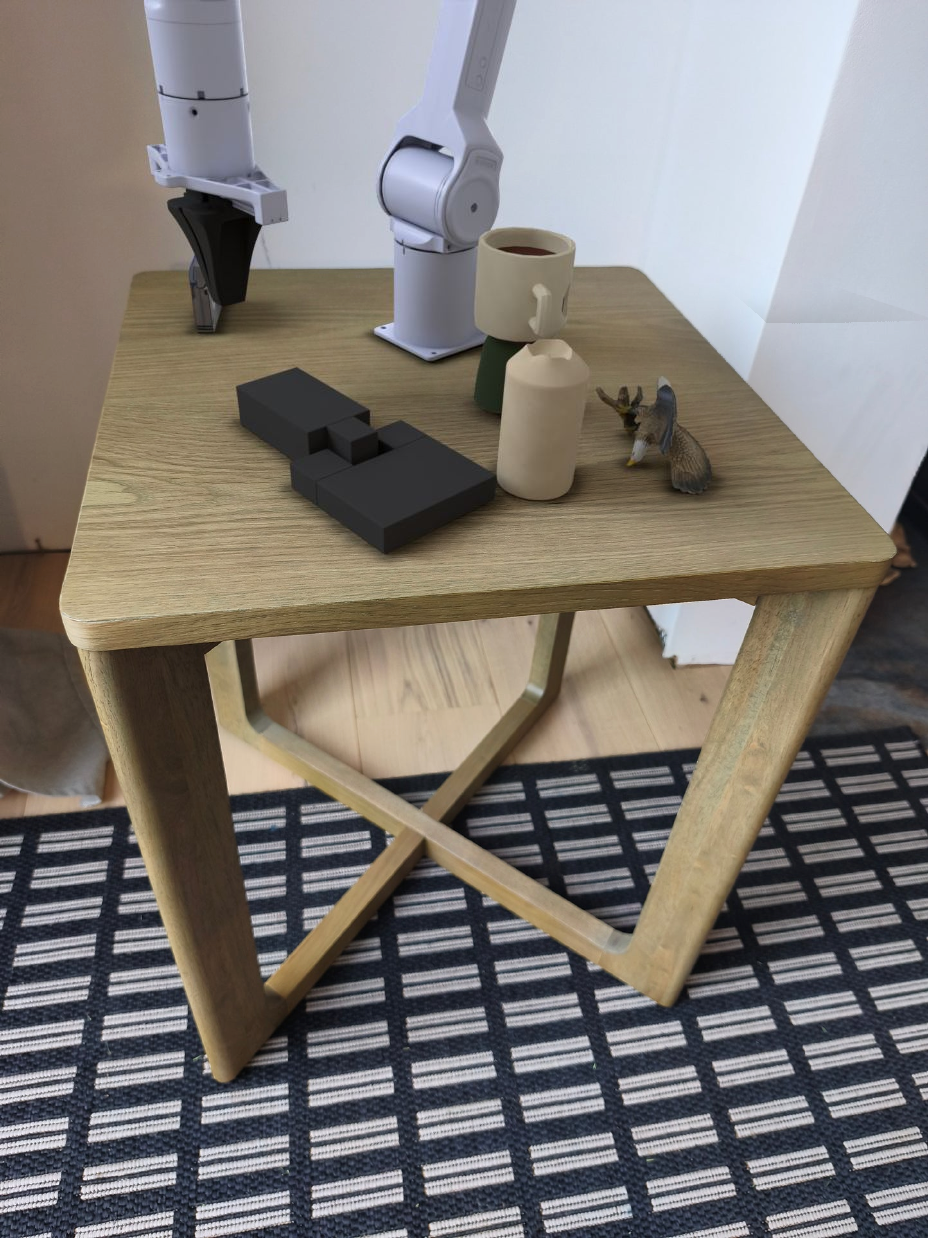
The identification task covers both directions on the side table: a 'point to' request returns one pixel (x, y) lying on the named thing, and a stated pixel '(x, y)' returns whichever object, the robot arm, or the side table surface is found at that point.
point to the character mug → (517, 299)
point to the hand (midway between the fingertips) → (229, 301)
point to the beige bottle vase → (541, 420)
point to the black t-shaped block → (306, 417)
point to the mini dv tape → (202, 300)
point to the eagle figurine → (663, 435)
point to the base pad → (395, 486)
